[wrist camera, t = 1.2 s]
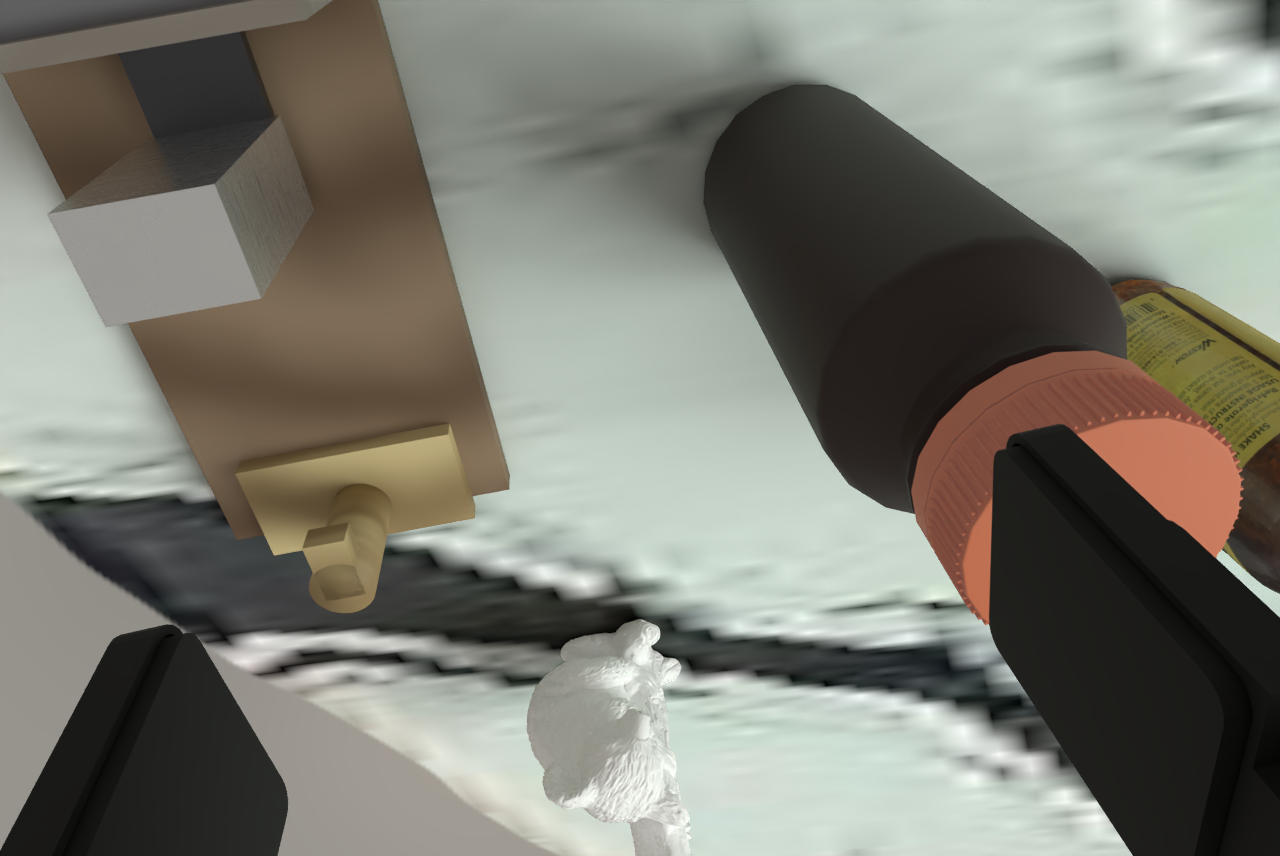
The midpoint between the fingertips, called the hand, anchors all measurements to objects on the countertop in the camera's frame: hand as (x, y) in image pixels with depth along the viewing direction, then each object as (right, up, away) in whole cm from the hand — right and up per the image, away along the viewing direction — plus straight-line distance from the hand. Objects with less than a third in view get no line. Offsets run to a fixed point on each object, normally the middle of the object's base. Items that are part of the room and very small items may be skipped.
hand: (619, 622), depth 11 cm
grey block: (-13, +15, +15) cm, 25 cm away
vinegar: (+6, +11, +22) cm, 25 cm away
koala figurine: (-1, -8, +33) cm, 34 cm away
